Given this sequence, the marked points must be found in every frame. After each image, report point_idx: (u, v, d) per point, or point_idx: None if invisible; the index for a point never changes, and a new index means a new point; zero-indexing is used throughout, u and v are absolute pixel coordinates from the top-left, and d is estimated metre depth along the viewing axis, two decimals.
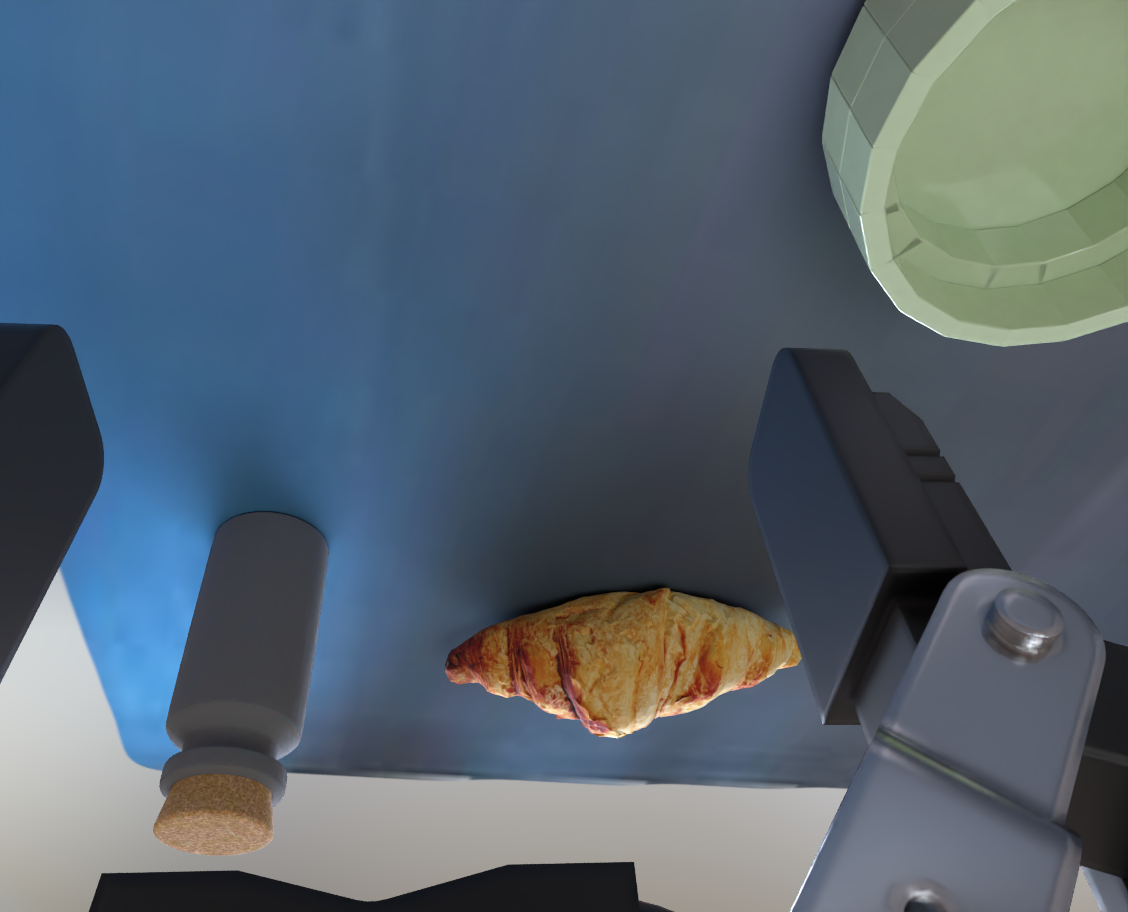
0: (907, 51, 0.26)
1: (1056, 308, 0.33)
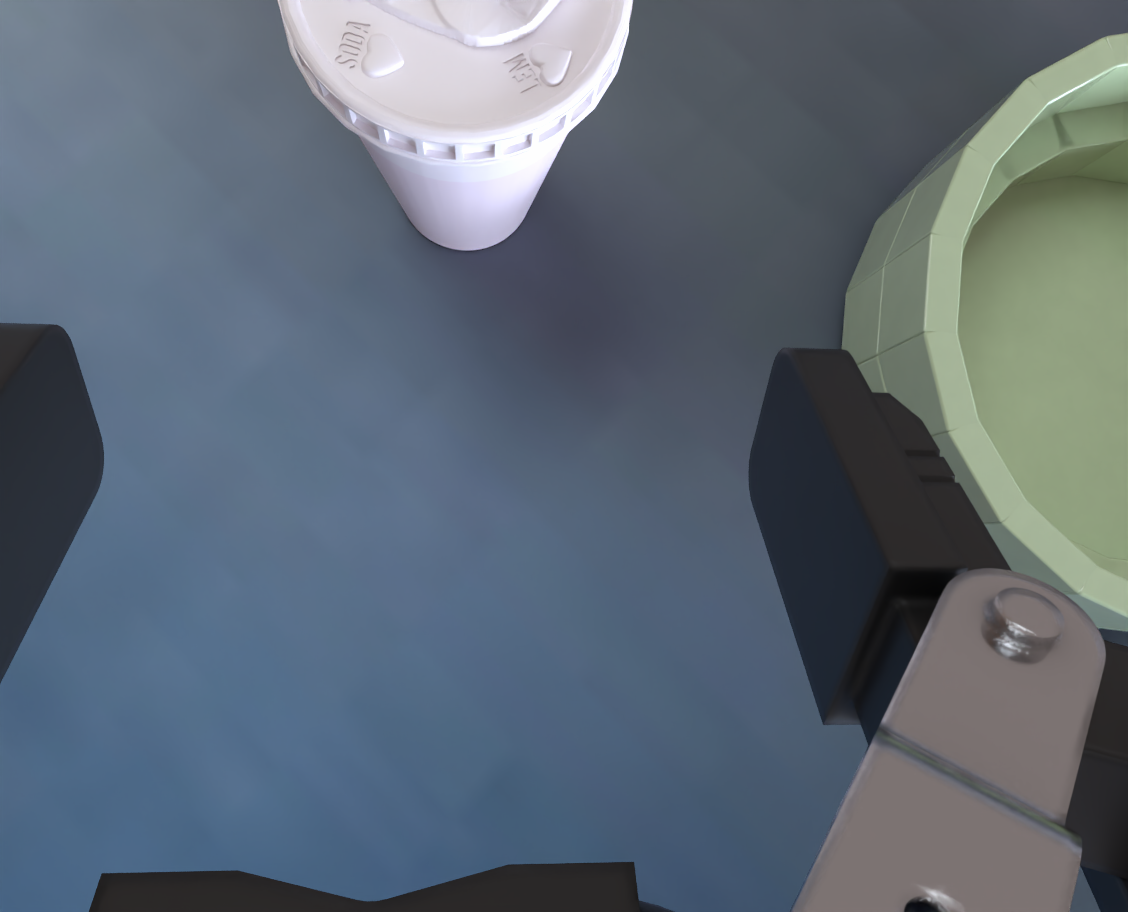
0: None
1: None
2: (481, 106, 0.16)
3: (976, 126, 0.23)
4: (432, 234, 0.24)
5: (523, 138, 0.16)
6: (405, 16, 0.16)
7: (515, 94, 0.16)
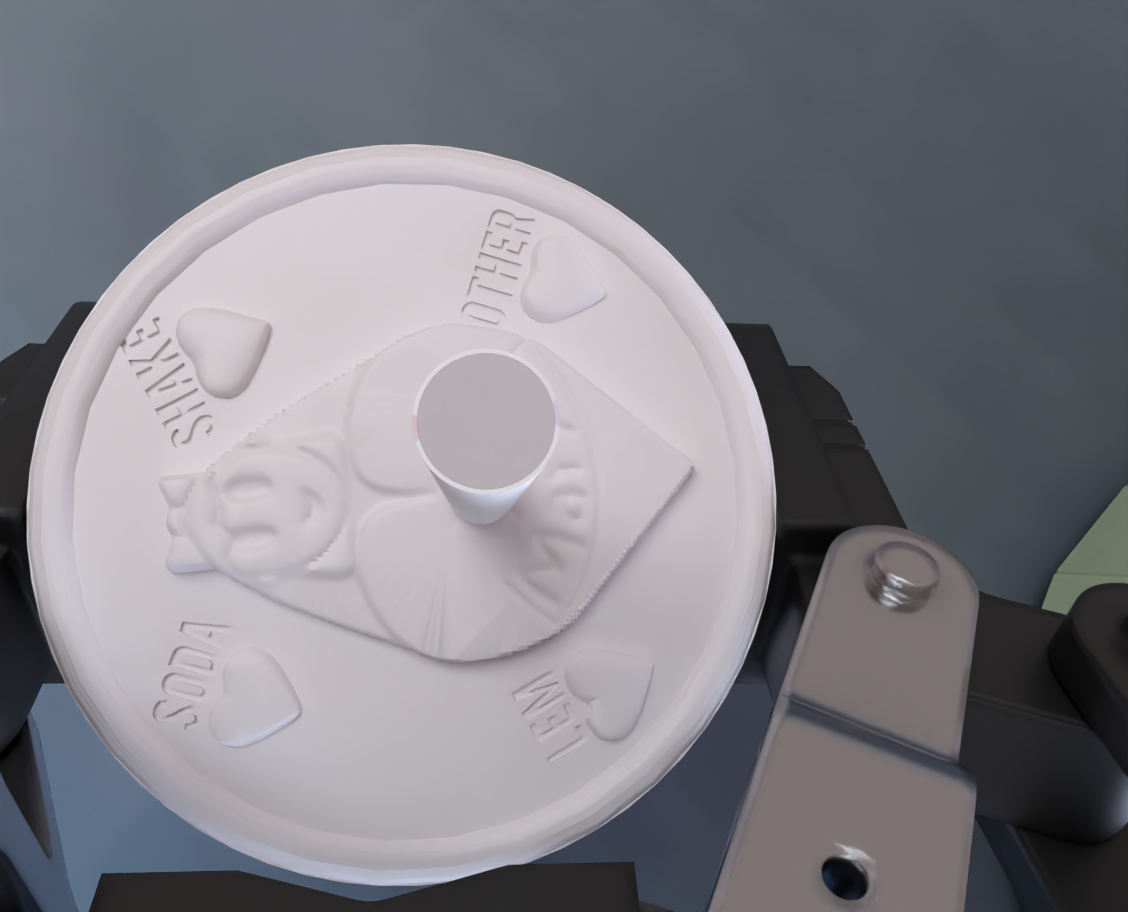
0: None
1: None
2: (464, 796, 0.08)
3: None
4: None
5: None
6: (305, 611, 0.07)
7: (535, 764, 0.08)
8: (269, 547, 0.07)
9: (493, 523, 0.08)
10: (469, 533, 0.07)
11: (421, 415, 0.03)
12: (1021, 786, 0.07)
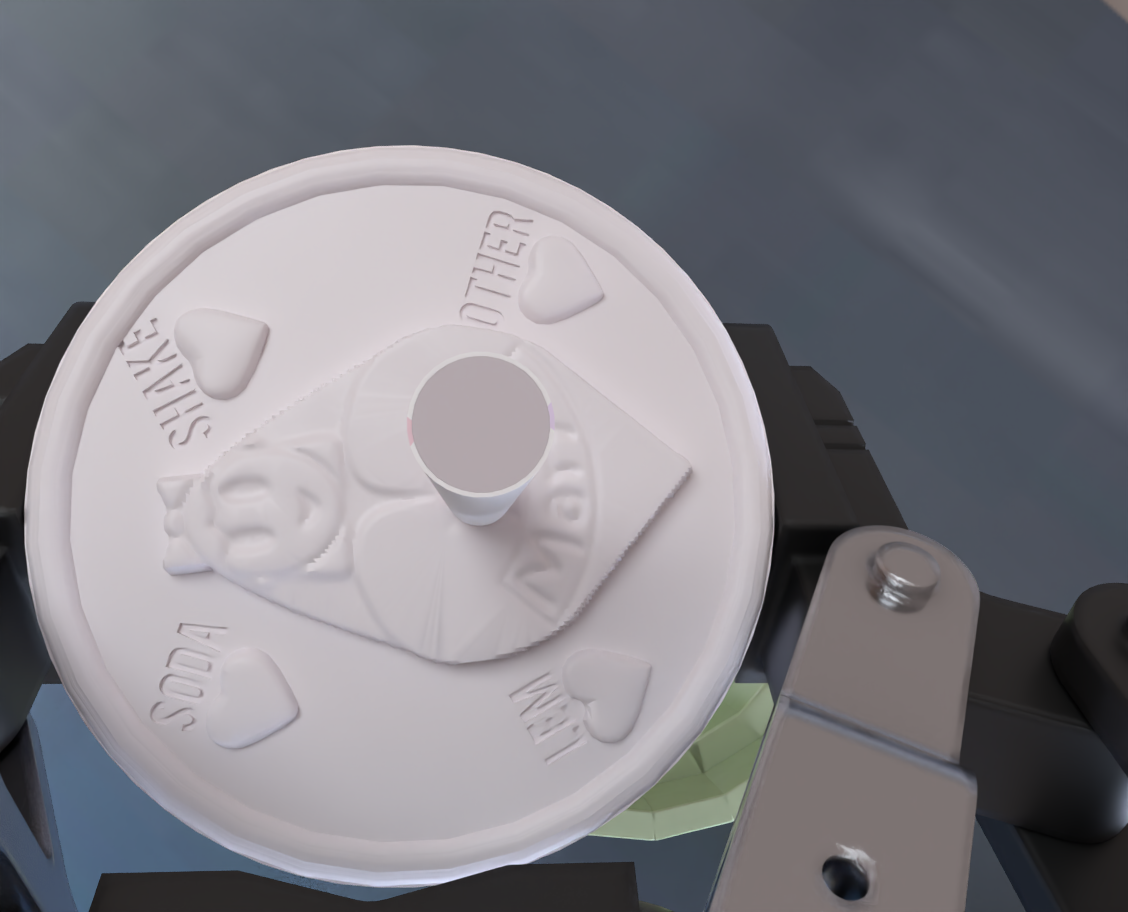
0: None
1: None
2: (462, 798, 0.08)
3: None
4: None
5: None
6: (301, 612, 0.07)
7: (532, 766, 0.08)
8: (267, 548, 0.07)
9: (491, 524, 0.08)
10: (467, 534, 0.07)
11: (416, 418, 0.03)
12: (1022, 786, 0.07)
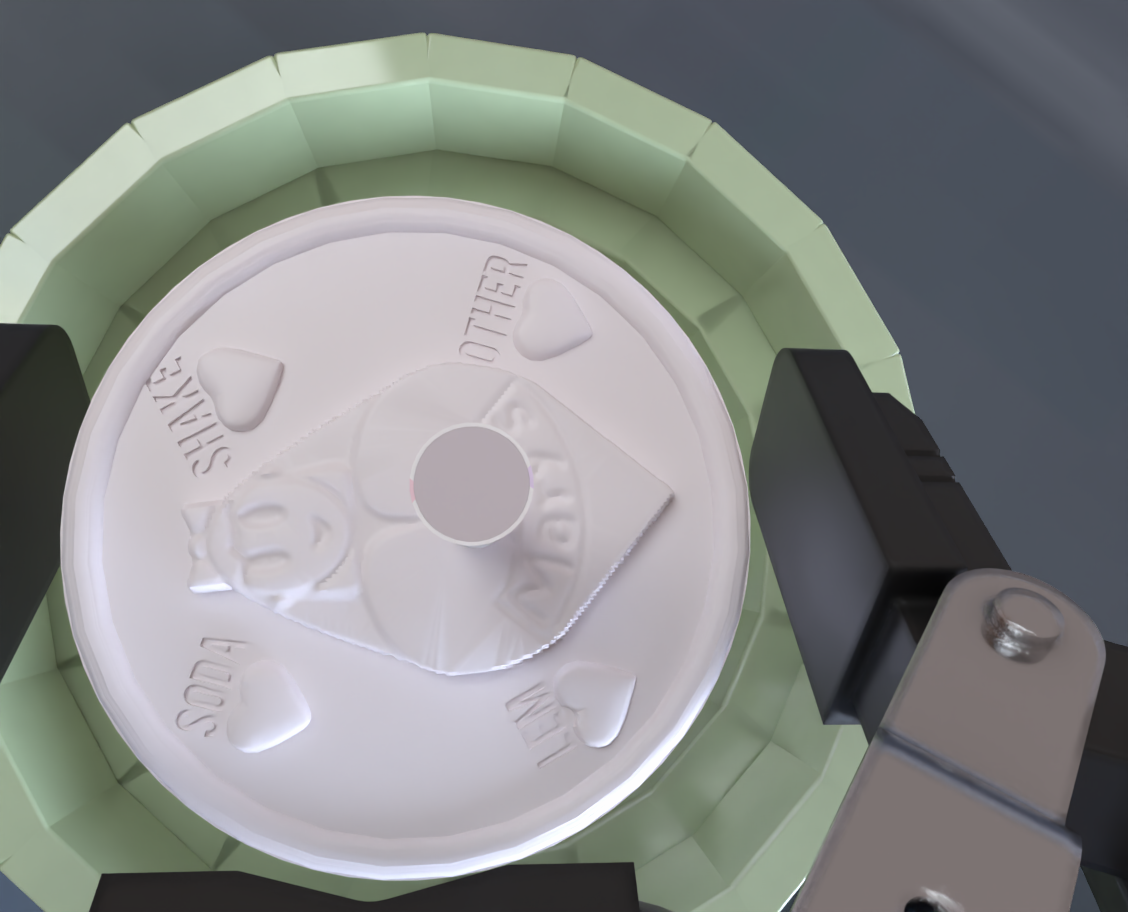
0: None
1: None
2: (461, 798, 0.08)
3: None
4: None
5: None
6: (315, 627, 0.08)
7: (527, 769, 0.08)
8: (282, 569, 0.08)
9: (488, 547, 0.08)
10: (466, 556, 0.08)
11: (417, 479, 0.04)
12: None
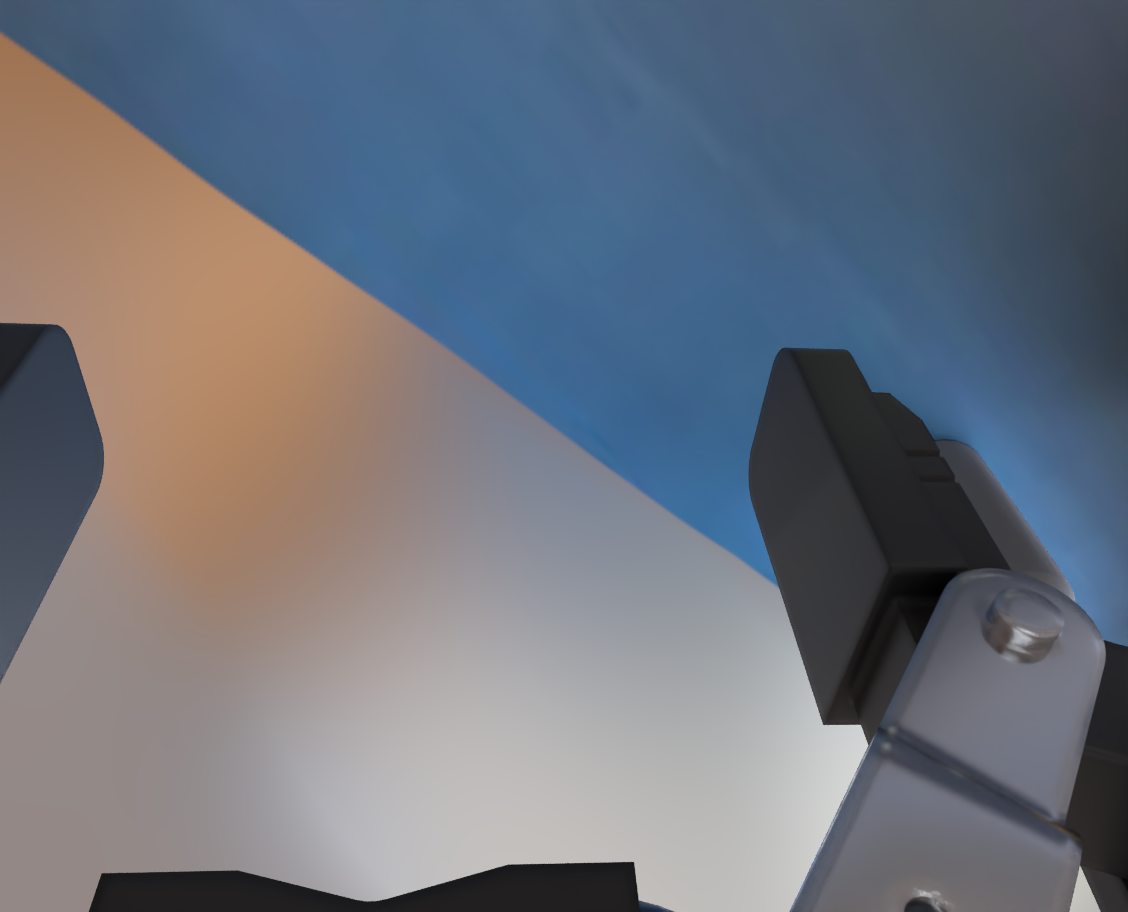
0: None
1: None
2: None
3: None
4: None
5: None
6: None
7: None
8: None
9: None
10: None
11: None
12: None
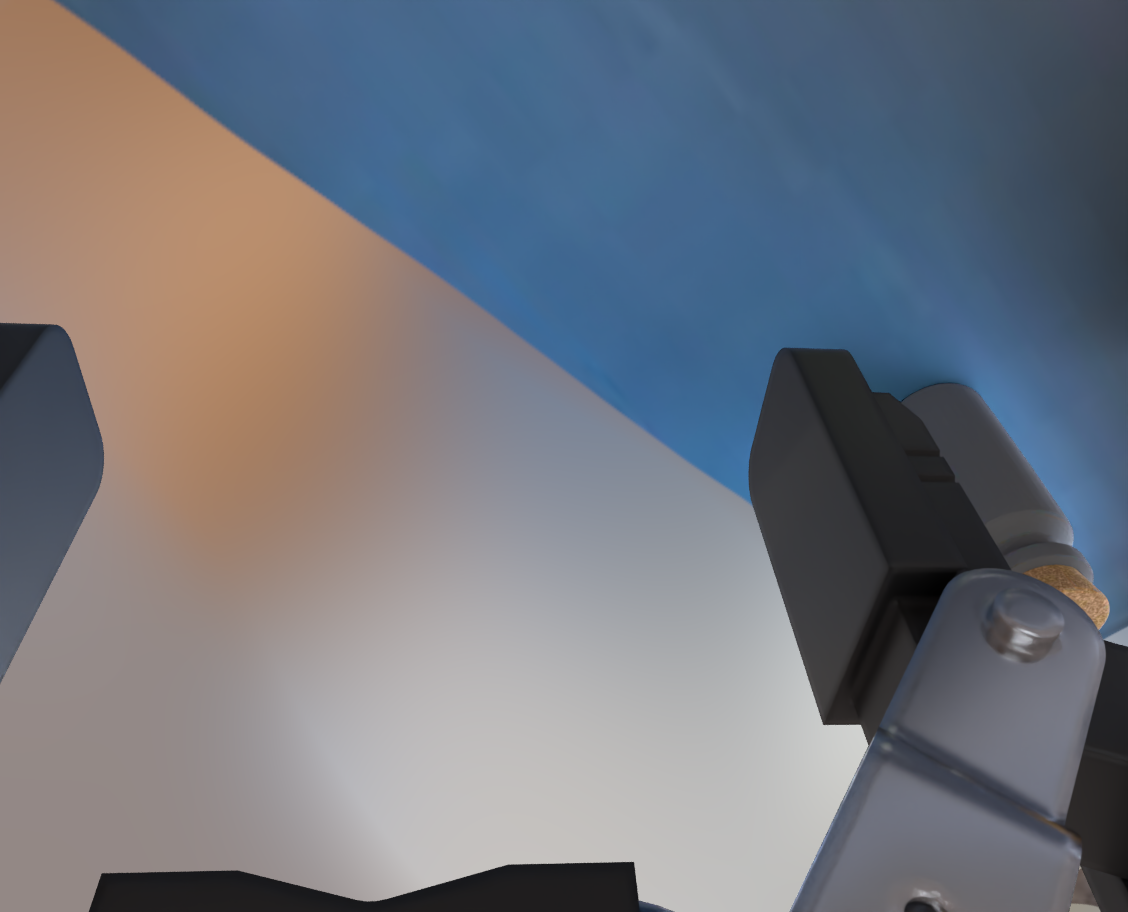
0: None
1: None
2: None
3: None
4: None
5: None
6: None
7: None
8: None
9: None
10: None
11: None
12: None
